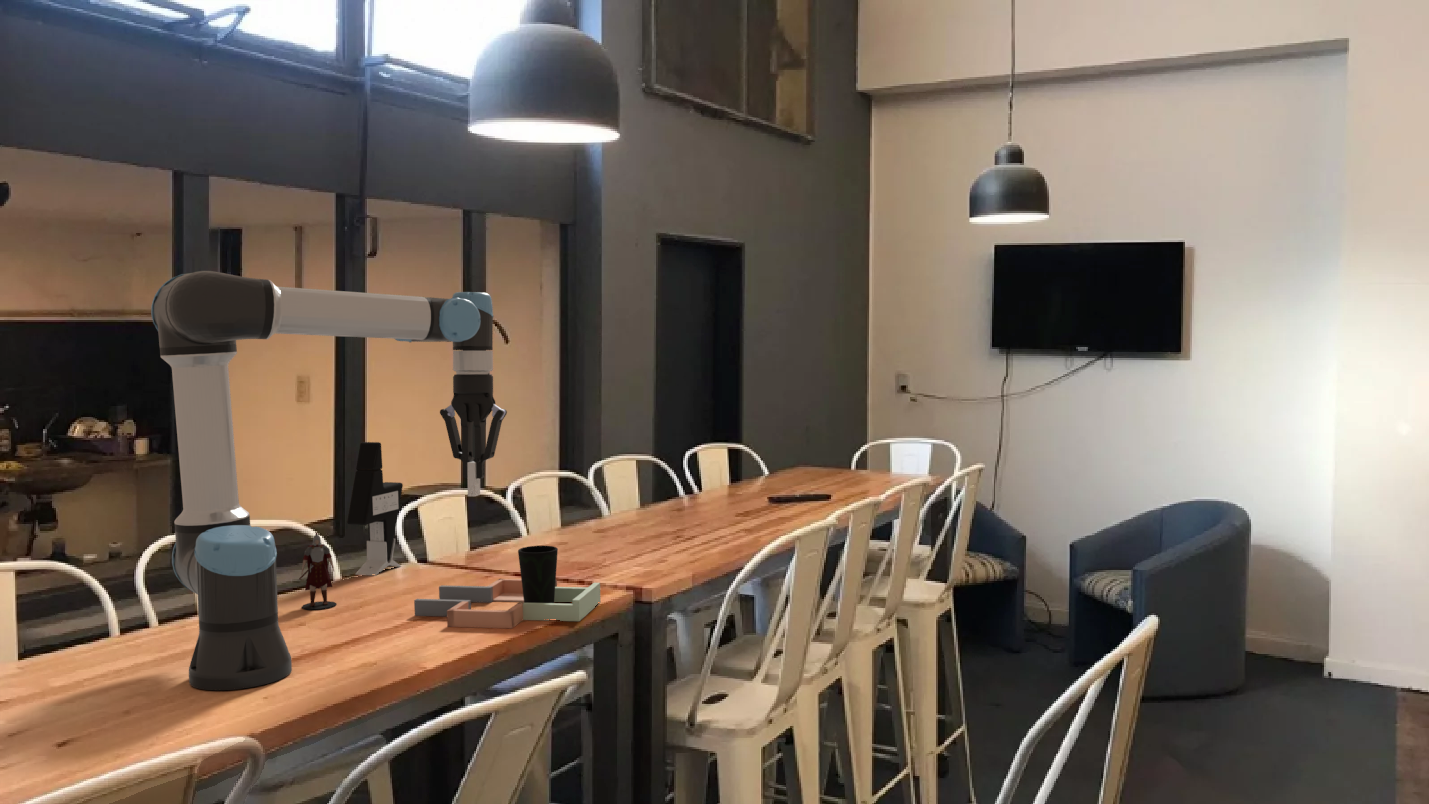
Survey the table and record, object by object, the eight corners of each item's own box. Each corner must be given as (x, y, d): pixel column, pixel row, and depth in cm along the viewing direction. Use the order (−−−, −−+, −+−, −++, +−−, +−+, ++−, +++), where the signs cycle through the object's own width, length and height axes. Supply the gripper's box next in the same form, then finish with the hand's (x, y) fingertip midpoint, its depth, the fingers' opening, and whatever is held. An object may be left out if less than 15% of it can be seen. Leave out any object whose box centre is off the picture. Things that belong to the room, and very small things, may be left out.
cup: (567, 607, 222) (565, 547, 221) (542, 616, 216) (540, 554, 215) (537, 603, 226) (535, 544, 225) (511, 611, 220) (509, 550, 219)
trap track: (398, 625, 211) (397, 604, 210) (455, 591, 238) (455, 573, 238) (569, 629, 205) (569, 608, 205) (608, 595, 232) (608, 576, 232)
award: (367, 578, 253) (362, 445, 251) (347, 576, 255) (343, 444, 253) (406, 564, 268) (402, 438, 266) (387, 563, 269) (383, 438, 267)
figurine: (302, 611, 222) (299, 536, 222) (299, 604, 229) (297, 531, 228) (338, 608, 225) (335, 533, 224) (334, 600, 232) (332, 528, 231)
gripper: (512, 372, 219) (513, 493, 220) (448, 372, 221) (449, 492, 222) (498, 373, 211) (499, 498, 212) (432, 373, 213) (434, 497, 214)
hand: (474, 495), depth 217 cm, fingers closed
